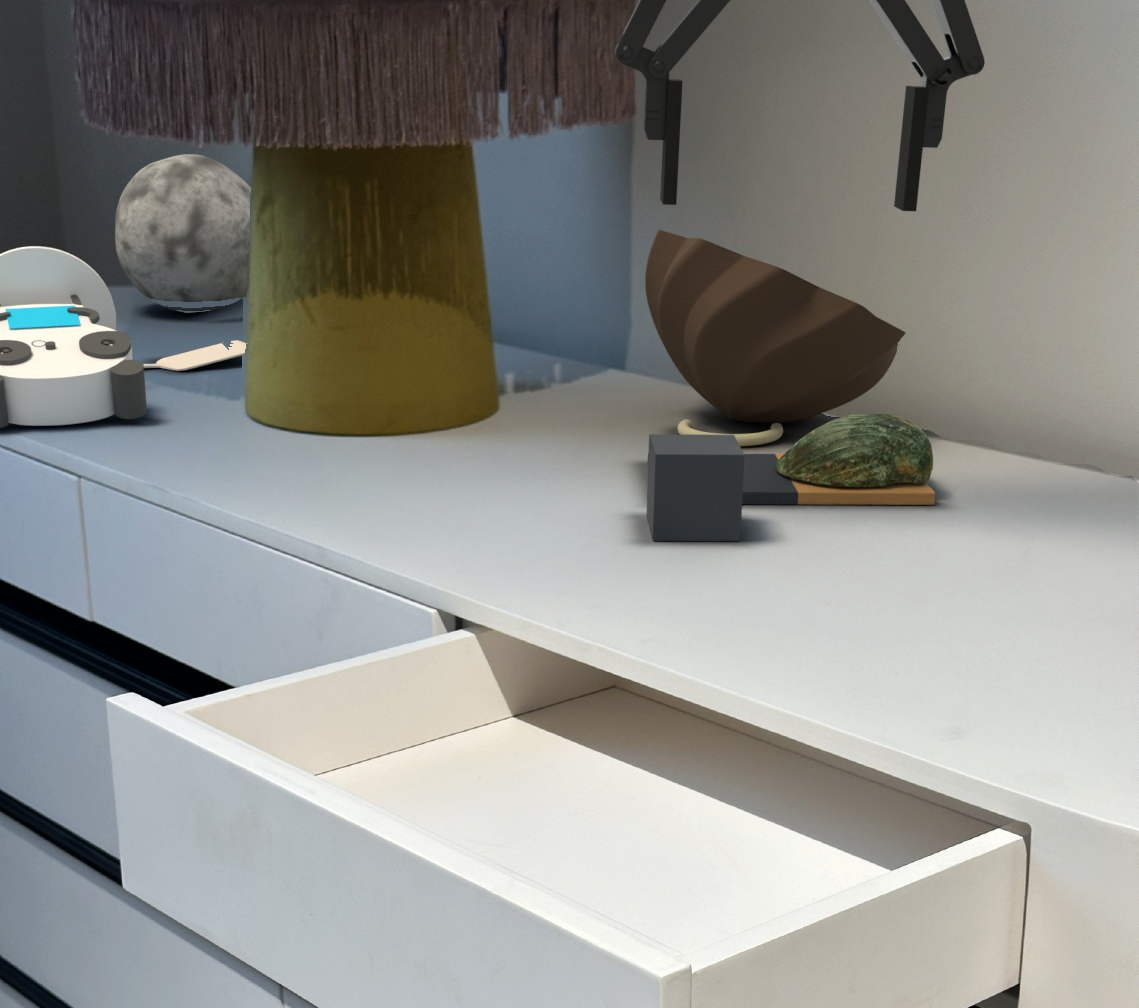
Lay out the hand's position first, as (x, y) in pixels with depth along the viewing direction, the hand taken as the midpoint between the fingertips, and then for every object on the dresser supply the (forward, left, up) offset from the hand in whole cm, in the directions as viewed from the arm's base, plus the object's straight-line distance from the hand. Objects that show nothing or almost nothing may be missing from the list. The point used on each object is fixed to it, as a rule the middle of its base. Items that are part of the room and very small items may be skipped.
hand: (786, 206), depth 96 cm
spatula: (+51, -40, -18) cm, 67 cm away
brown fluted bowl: (-4, -24, -8) cm, 25 cm away
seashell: (-6, -5, -17) cm, 19 cm away
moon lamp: (+50, -65, -11) cm, 83 cm away
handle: (+1, -15, -17) cm, 23 cm away
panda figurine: (+52, -34, -12) cm, 63 cm away
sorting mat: (-2, -5, -18) cm, 18 cm away
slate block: (+5, +6, -18) cm, 19 cm away
